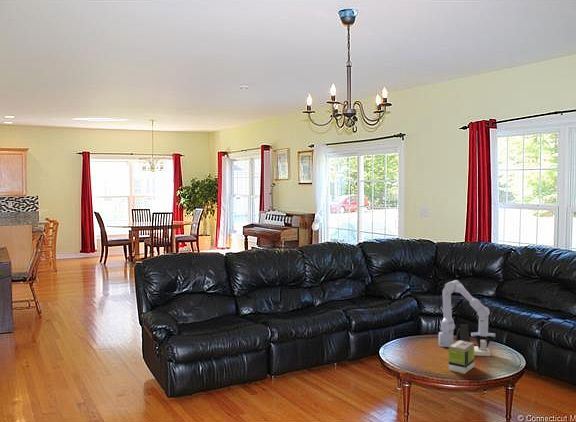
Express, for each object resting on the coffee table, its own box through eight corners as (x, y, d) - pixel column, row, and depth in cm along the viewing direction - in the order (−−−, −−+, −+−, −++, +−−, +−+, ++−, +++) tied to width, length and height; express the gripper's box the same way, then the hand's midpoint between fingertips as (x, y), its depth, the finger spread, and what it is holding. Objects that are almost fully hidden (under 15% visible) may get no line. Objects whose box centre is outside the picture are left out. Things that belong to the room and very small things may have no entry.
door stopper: (470, 343, 364) (470, 325, 363) (462, 343, 363) (463, 326, 362) (462, 339, 373) (463, 322, 372) (455, 340, 371) (455, 322, 370)
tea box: (458, 363, 324) (458, 339, 323) (474, 367, 318) (475, 342, 317) (448, 370, 313) (448, 345, 312) (464, 374, 306) (465, 348, 305)
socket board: (464, 355, 339) (464, 351, 339) (460, 349, 350) (461, 345, 350) (490, 356, 337) (490, 352, 337) (486, 350, 348) (486, 346, 348)
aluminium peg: (480, 351, 341) (480, 341, 341) (478, 349, 345) (478, 339, 345) (486, 351, 341) (486, 342, 341) (484, 349, 345) (485, 340, 345)
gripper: (473, 327, 339) (472, 349, 340) (496, 328, 337) (496, 349, 338) (470, 324, 346) (469, 345, 347) (493, 325, 344) (493, 346, 345)
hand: (482, 347), depth 343 cm, fingers closed on aluminium peg, 4 cm apart
